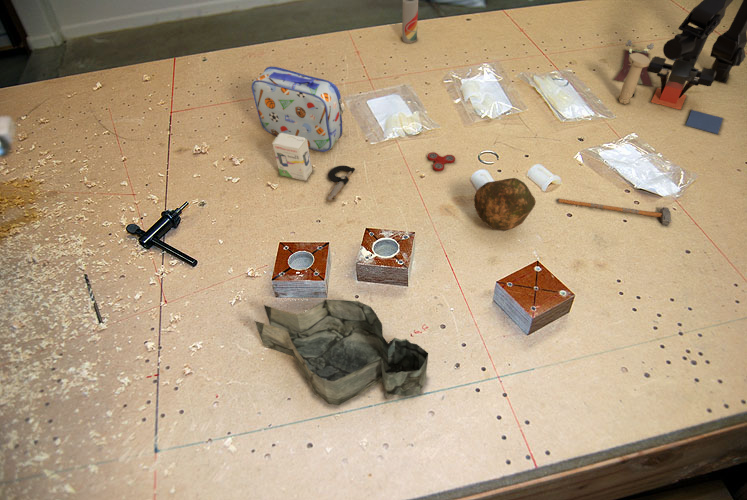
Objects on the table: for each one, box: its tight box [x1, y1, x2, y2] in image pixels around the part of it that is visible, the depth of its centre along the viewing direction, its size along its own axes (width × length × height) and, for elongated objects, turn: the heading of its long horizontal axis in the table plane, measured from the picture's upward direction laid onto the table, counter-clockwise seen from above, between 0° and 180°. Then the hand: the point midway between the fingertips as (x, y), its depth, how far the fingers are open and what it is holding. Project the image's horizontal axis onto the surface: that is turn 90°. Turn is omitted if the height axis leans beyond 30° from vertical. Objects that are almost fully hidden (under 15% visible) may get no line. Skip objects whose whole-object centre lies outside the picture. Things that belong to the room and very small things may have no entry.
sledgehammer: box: [558, 198, 672, 226], centre depth 136 cm, size 27×2×5 cm
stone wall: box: [254, 298, 429, 406], centre depth 105 cm, size 35×19×10 cm, turn 71°
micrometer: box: [325, 165, 356, 203], centre depth 146 cm, size 15×7×2 cm, turn 154°
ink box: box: [271, 133, 313, 181], centre depth 146 cm, size 9×5×12 cm, turn 70°
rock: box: [473, 177, 537, 232], centre depth 129 cm, size 13×13×15 cm
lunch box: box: [251, 66, 346, 153], centre depth 153 cm, size 28×10×22 cm, turn 65°
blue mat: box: [685, 109, 724, 135], centre depth 161 cm, size 9×9×1 cm
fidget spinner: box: [427, 151, 456, 172], centre depth 151 cm, size 8×7×1 cm
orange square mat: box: [650, 87, 687, 110], centre depth 169 cm, size 9×9×1 cm
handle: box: [618, 53, 651, 105], centre depth 164 cm, size 5×6×15 cm
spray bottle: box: [401, 0, 419, 44], centre depth 194 cm, size 6×6×20 cm
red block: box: [659, 79, 686, 104], centre depth 167 cm, size 5×5×5 cm
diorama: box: [613, 39, 655, 97], centre depth 180 cm, size 12×35×5 cm, turn 159°
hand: (670, 95), depth 169 cm, fingers closed on red block, 5 cm apart
